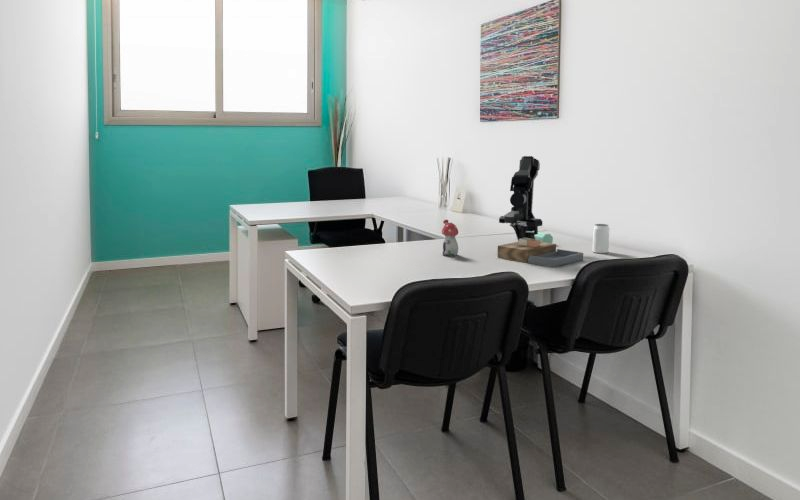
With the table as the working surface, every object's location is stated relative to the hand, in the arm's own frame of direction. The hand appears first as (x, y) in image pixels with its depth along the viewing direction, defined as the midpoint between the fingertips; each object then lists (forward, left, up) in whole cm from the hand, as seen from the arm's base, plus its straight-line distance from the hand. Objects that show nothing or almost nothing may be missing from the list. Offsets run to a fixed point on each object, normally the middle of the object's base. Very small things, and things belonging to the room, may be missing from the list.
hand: (519, 241), depth 257 cm
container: (-18, +34, -7) cm, 39 cm away
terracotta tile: (+7, 0, -1) cm, 7 cm away
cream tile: (+3, 0, -1) cm, 3 cm away
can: (+20, +30, -6) cm, 37 cm away
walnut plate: (+4, 0, -6) cm, 7 cm away
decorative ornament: (-22, -20, -6) cm, 30 cm away
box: (+18, 0, -6) cm, 19 cm away
